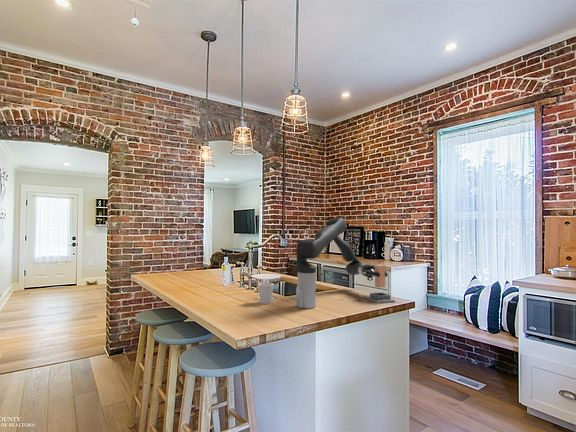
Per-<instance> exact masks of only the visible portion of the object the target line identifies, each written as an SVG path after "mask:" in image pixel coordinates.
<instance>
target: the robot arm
mask: <svg viewBox="0 0 576 432" xmlns="http://www.w3.org/2000/svg"><path fill="white" fill-rule="evenodd" d="M346 230H347V222H346V220H345V219H344V218H342V217H337V218H333V219H329V220H327V221H326V224H325V226H323V227H322V228H320V229H319V230H318V231H316V233H315V235H314V240H309V239H308V240H307V239H306V240H305V239H301V240H298V242H297V244H296V249H295V251H296V254H295V255H296V267H297V286H296V288H295V306H296V307H297V308H299V309H314V308H316V305H317V297H316V296H317V294H316V293H317V292H316V291H317V289H316V287H317V268H316V265H313V264H311V262H308V259H309V260H313V259H317V257H319V256H320V255H321V253H322V251H323V250H324V249H325V248H326V247H327V246H328V245H329V244H331V243H332V242H333V241H334V243H335V244H336V246H337V247H338V249H339V251H340V253H341V255H342V257H343V259H344V261H345V262H349V263H347V265H345V271H346V272H347V273H348V275H352V276H354V275H360V276H363V277H366V278H369V279H372V278H375V276H377V277H380V273H378V272H375V265H372V264H368V263H363V262H361V260H359V259H358V258H357V256H356V255H355V253H354V250H353V249H352V246H351V245H350V244H349V243H348V242H347V241H345V240H344V239H343V238H341V237H340V236H339V235H341V234H343V233H345V232H346ZM386 277H388V272H387V270H385V278H386Z"/></svg>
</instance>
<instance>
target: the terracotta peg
mask: <svg viewBox="0 0 576 432" xmlns="http://www.w3.org/2000/svg"><path fill="white" fill-rule="evenodd" d="M374 267H375V272H378V273H380V277H377V276H374V287H376V288H381V289H382V288H386V277H385V271H386V265H385V264H374Z"/></svg>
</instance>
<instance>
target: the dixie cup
mask: <svg viewBox="0 0 576 432" xmlns="http://www.w3.org/2000/svg"><path fill="white" fill-rule="evenodd" d="M257 285H258V292H259V293H258V294H259V301H260V304H261V305H270V304H271V303H272V300H273V299H272V297H273V291H274V286H275V285H274V282H269V281H267V282H264V281H263V282H259V283H257Z"/></svg>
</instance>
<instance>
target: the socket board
mask: <svg viewBox="0 0 576 432" xmlns="http://www.w3.org/2000/svg"><path fill="white" fill-rule="evenodd" d="M391 297H392V296H391V294H387V293H385V292H369V295H362V298H363V299H366V300H368V301H371V302H373V303H375V304H388V303H396V300H395V299H392V298H391Z"/></svg>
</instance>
